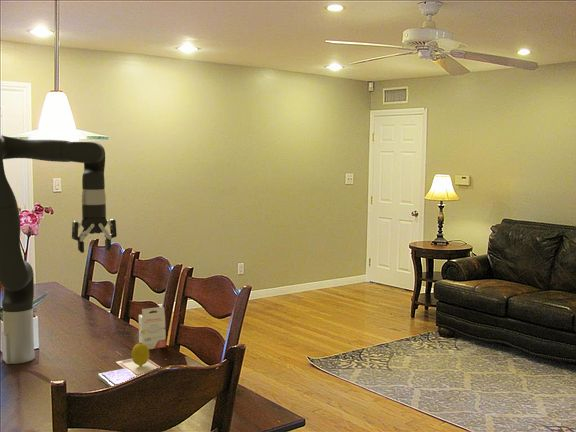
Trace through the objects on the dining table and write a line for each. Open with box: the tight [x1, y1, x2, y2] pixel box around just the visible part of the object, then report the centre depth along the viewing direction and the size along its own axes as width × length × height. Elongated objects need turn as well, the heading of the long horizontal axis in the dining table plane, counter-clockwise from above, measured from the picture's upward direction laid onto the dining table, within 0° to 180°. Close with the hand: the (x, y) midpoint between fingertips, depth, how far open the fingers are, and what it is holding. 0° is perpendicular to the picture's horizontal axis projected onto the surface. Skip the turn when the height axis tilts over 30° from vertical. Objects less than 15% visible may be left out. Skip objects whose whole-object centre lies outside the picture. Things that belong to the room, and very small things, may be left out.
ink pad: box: [98, 368, 136, 388], centre depth 191 cm, size 9×13×2 cm
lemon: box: [131, 342, 150, 367], centre depth 203 cm, size 6×6×8 cm
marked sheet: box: [115, 358, 161, 376], centre depth 203 cm, size 10×18×1 cm, turn 36°
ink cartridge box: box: [138, 306, 167, 350], centre depth 224 cm, size 9×5×15 cm, turn 118°
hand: (94, 251), depth 209 cm, fingers open, 8 cm apart
